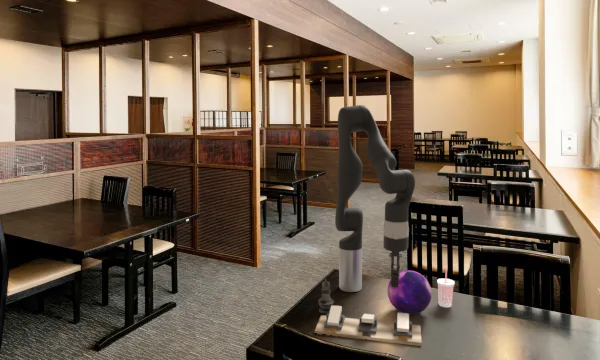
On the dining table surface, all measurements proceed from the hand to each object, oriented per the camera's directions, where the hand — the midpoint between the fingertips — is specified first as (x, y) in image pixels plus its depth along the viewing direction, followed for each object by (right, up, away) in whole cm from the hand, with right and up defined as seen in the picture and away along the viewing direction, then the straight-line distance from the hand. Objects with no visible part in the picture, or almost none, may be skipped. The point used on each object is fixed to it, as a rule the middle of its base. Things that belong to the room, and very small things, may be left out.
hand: (394, 286), depth 128 cm
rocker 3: (+3, -12, +1) cm, 12 cm away
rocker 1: (-19, -12, +6) cm, 23 cm away
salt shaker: (-21, -14, +18) cm, 31 cm away
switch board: (-8, -15, +3) cm, 17 cm away
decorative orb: (+9, -13, +16) cm, 22 cm away
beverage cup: (+23, -12, +21) cm, 34 cm away
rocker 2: (-8, -12, +3) cm, 15 cm away
